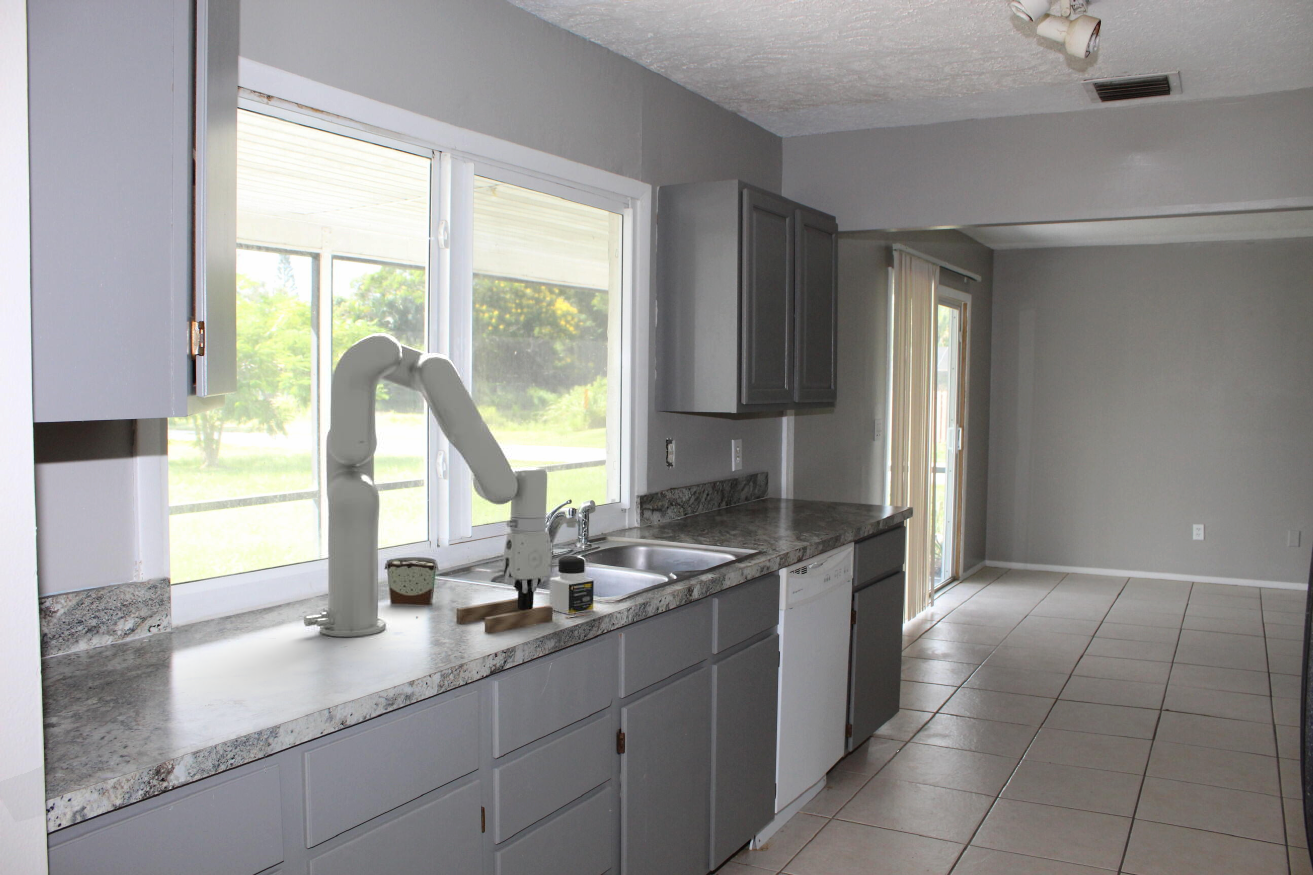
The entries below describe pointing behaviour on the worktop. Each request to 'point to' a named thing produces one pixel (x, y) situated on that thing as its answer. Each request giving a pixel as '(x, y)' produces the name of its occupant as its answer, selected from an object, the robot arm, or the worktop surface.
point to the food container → (411, 580)
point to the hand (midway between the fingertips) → (525, 609)
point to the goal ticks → (566, 617)
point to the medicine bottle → (571, 586)
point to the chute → (503, 615)
